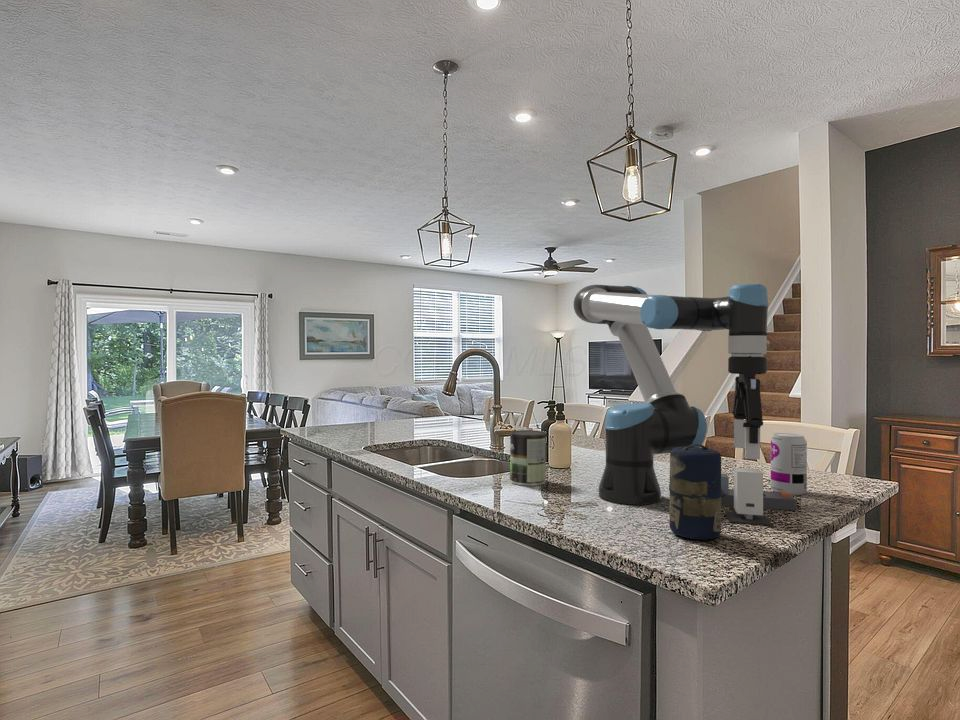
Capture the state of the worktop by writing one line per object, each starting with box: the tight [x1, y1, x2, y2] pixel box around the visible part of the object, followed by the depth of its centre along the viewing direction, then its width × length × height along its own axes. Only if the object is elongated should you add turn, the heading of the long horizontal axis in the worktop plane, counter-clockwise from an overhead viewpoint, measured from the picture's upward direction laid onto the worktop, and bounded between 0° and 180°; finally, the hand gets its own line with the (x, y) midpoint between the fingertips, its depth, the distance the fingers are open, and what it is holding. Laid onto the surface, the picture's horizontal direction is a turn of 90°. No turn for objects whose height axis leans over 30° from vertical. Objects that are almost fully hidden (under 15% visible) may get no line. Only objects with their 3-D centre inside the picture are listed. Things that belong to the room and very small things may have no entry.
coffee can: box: [509, 429, 547, 487], centre depth 153 cm, size 10×10×14 cm
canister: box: [668, 444, 722, 541], centre depth 106 cm, size 10×10×18 cm
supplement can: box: [770, 432, 808, 496], centre depth 142 cm, size 8×8×15 cm
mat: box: [724, 510, 773, 527], centre depth 117 cm, size 8×8×1 cm
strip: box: [721, 473, 797, 511], centre depth 129 cm, size 26×10×6 cm, turn 73°
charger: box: [733, 467, 764, 520], centre depth 117 cm, size 5×5×10 cm
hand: (746, 453), depth 117 cm, fingers open, 13 cm apart
